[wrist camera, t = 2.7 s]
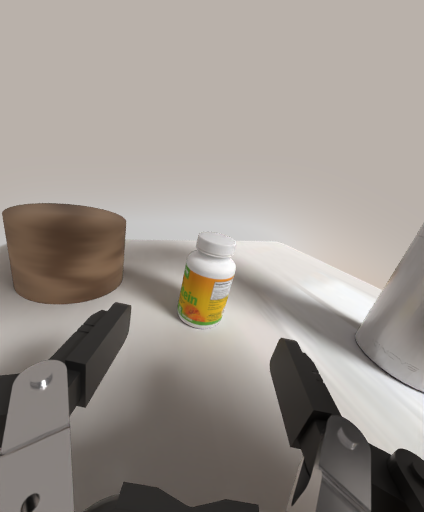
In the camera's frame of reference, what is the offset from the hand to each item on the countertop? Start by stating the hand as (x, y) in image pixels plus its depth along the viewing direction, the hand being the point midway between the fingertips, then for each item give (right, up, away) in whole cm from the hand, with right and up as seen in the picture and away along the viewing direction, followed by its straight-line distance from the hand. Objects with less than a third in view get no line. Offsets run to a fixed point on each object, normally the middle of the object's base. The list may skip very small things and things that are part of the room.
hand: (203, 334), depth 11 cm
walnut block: (-17, +1, +15) cm, 22 cm away
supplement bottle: (-1, -3, +13) cm, 14 cm away
